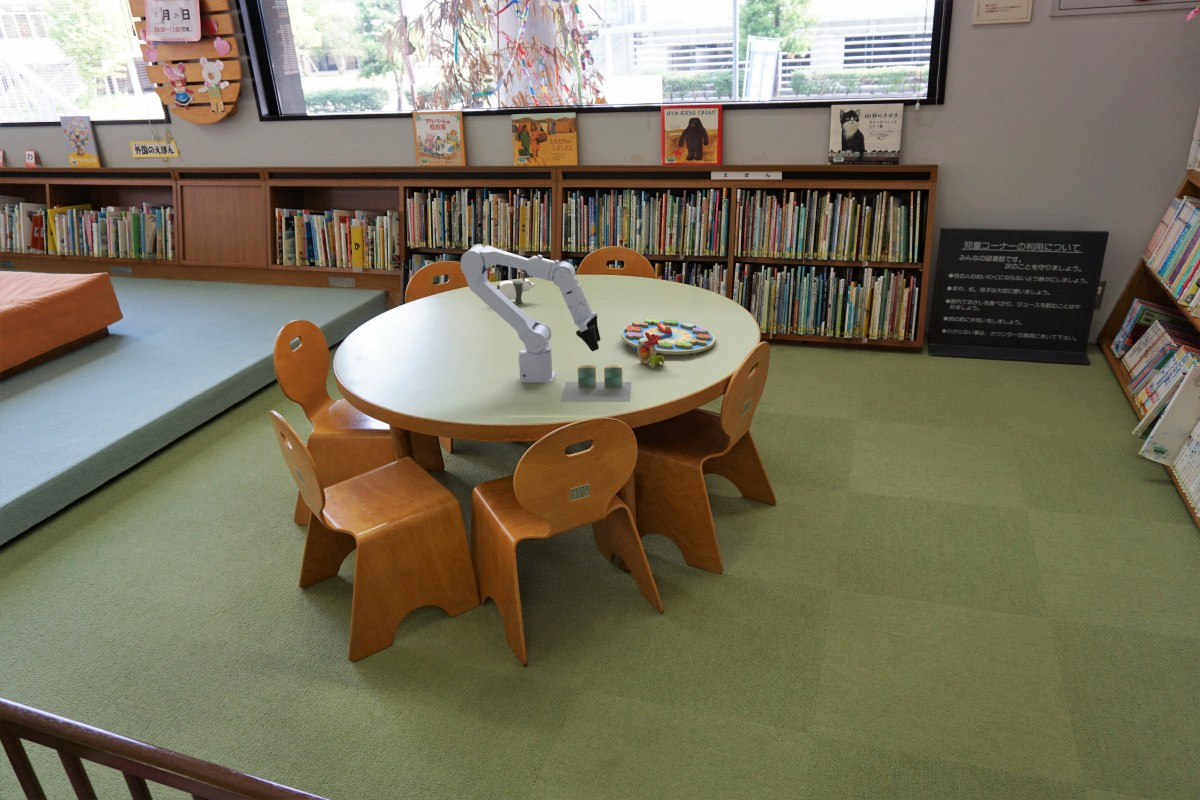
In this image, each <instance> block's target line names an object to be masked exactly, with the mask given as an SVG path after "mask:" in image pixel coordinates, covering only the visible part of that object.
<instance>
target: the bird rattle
mask: <svg viewBox="0 0 1200 800" xmlns="http://www.w3.org/2000/svg"><path fill="white" fill-rule="evenodd" d="M645 335H646V337H647V339H648V341H642V342H641V343H640V344H639V346H638V349H637V353H636V354H637V357H638V359H639V362H640V364H642V365H650V368H651V369H654V367H655V365H659V364H660V363H661V364H663V365H664V364H665V357H664V356H663V355H657V353H656V349H655V346H654V344H656V345H659V343H658V340H659V339H660V338H661V336H660V335H655V334H652V335H650V334H649V333H647V332H646V333H645ZM644 346H646V347H644Z"/></svg>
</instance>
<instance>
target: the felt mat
mask: <svg viewBox="0 0 1200 800" xmlns="http://www.w3.org/2000/svg"><path fill="white" fill-rule="evenodd" d="M631 391H632V381H622V387H605V382H604V381H596V387H578V381H565V384H564V387H563V391H562V396H561V399H560V402H628V403H629V402H631V393H632V392H631Z"/></svg>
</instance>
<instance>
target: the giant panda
mask: <svg viewBox="0 0 1200 800" xmlns="http://www.w3.org/2000/svg"><path fill="white" fill-rule="evenodd" d="M535 286H536V284H535V283H533V282H530V280H529V279H528V278H525V277H523V278H522V281H520V280H518V281H516V280H504V281H500V282H499V284H498V285H496V288H497V289H498V290H499V291H500V292H501V293H503V294H504V295H505V296H506V297H507V298H508V299H509V300H515V302H516V305H523V304H524V302H523V300H522V295H523V293H525V292H528V291H530V290H531V289H533V288H534V287H535Z"/></svg>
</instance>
